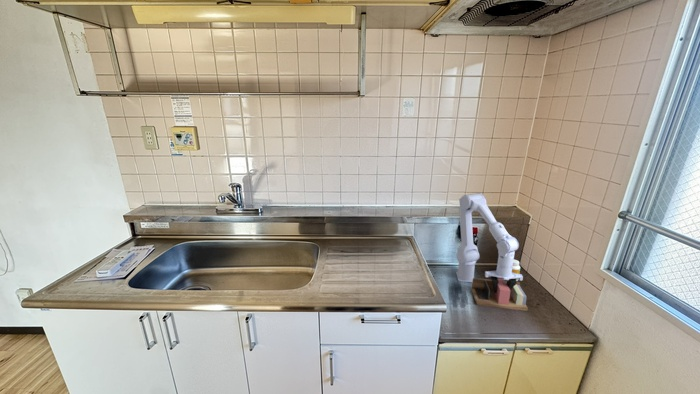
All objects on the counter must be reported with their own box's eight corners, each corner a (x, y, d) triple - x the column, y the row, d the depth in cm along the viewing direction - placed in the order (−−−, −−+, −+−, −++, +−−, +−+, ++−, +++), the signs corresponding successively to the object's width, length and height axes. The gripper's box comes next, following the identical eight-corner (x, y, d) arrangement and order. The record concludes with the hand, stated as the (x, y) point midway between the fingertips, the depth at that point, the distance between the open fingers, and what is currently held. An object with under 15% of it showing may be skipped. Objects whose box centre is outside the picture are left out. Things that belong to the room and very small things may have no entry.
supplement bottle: (518, 282, 139) (521, 264, 137) (506, 279, 141) (509, 262, 139) (518, 277, 144) (520, 259, 141) (506, 274, 146) (508, 257, 144)
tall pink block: (492, 291, 130) (494, 278, 128) (502, 292, 129) (504, 279, 127) (498, 303, 121) (500, 289, 120) (508, 305, 121) (510, 290, 119)
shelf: (471, 289, 134) (472, 277, 132) (517, 294, 130) (519, 282, 128) (476, 305, 123) (478, 292, 121) (527, 310, 118) (529, 298, 117)
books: (509, 292, 129) (510, 282, 128) (517, 293, 129) (519, 283, 127) (516, 304, 121) (517, 294, 120) (525, 305, 120) (527, 295, 119)
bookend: (474, 288, 132) (475, 279, 131) (484, 289, 132) (485, 280, 130) (478, 299, 125) (479, 289, 124) (488, 300, 124) (490, 290, 123)
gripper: (489, 267, 119) (485, 295, 122) (527, 270, 116) (522, 299, 119) (485, 259, 125) (481, 286, 129) (521, 262, 122) (516, 290, 126)
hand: (501, 292), depth 124 cm, fingers open, 4 cm apart
